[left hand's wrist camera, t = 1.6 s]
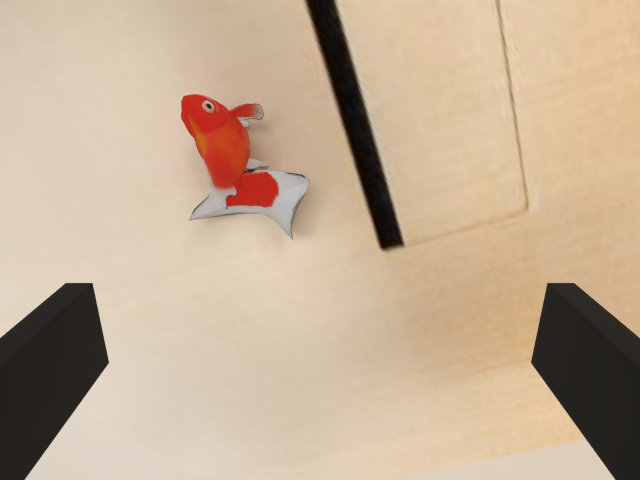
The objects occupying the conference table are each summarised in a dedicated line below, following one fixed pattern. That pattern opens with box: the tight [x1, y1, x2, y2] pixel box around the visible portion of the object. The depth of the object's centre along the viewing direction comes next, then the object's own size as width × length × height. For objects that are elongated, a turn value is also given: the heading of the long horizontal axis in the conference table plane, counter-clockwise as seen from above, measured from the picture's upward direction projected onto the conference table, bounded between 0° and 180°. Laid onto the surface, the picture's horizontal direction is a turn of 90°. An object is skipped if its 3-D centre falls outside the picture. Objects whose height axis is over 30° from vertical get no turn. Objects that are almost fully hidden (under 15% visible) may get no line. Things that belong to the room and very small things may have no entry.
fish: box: [181, 94, 310, 240], centre depth 39 cm, size 11×16×10 cm
